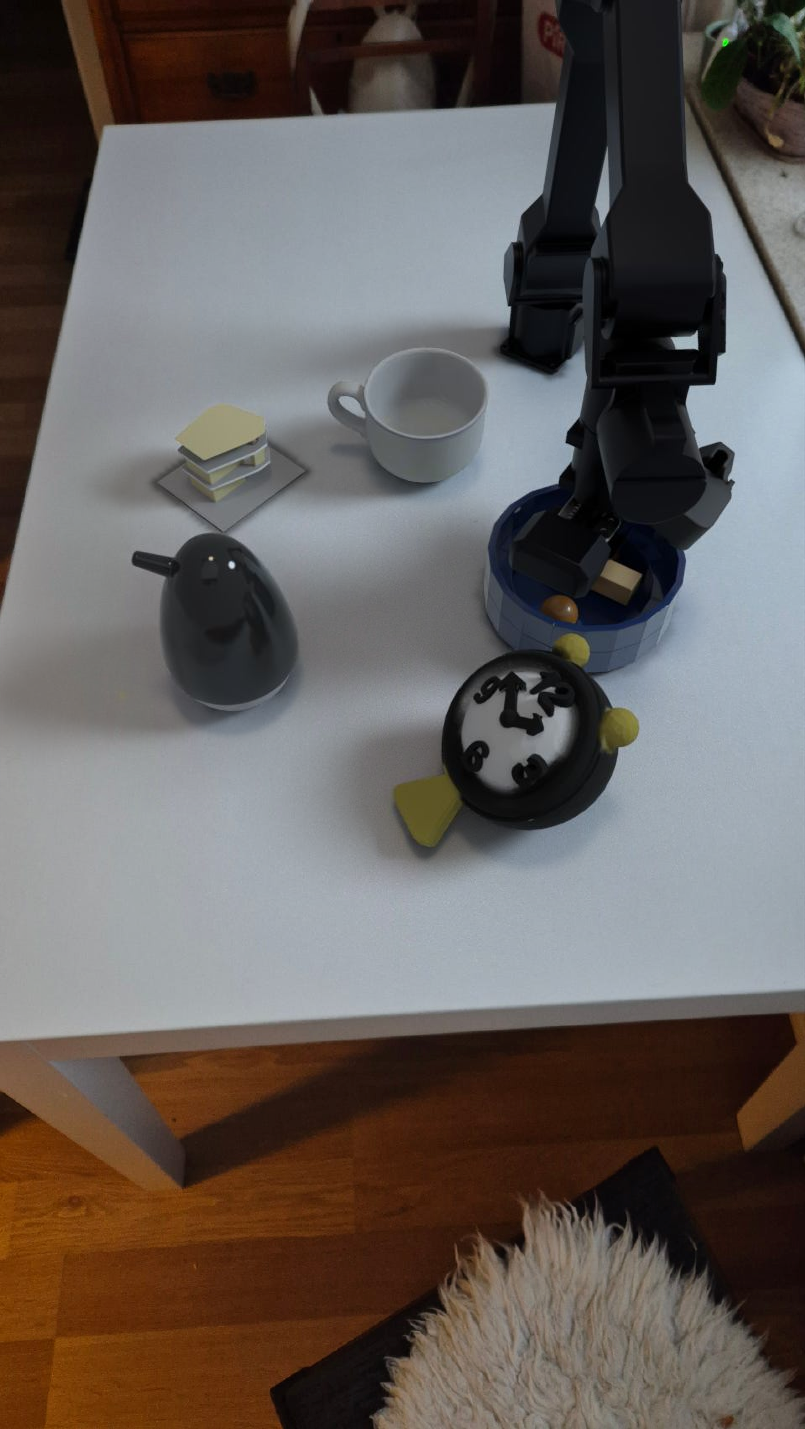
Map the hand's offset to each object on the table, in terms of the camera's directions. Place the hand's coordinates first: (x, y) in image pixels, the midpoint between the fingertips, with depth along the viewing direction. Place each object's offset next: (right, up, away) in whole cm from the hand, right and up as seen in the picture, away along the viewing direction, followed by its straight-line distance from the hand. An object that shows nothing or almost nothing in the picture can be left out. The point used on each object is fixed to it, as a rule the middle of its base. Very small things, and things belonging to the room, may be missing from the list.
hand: (588, 568), depth 82 cm
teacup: (-15, +12, +11) cm, 22 cm away
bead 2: (+1, +1, +2) cm, 3 cm away
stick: (0, -1, +1) cm, 1 cm away
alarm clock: (-7, -17, -7) cm, 20 cm away
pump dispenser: (-28, -9, -2) cm, 29 cm away
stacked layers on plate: (-31, +10, +10) cm, 34 cm away
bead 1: (-3, -4, -2) cm, 5 cm away
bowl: (-1, -2, +2) cm, 3 cm away
